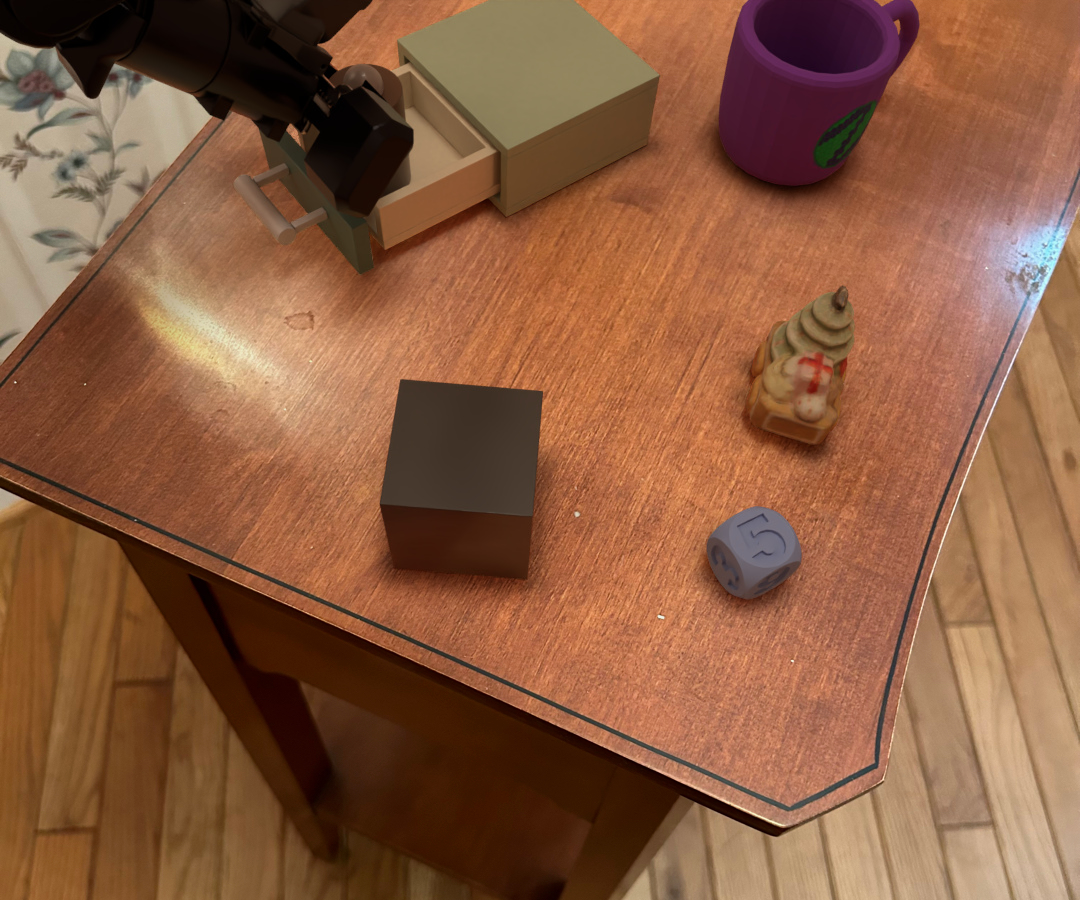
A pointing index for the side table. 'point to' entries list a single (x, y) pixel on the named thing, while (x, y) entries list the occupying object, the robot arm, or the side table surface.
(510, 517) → the block
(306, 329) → the side table surface
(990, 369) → the side table surface
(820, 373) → the ornament
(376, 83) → the pepper mill
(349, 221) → the drawer
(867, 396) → the side table surface
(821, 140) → the mug
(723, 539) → the decorative dice
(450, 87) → the cabinet
